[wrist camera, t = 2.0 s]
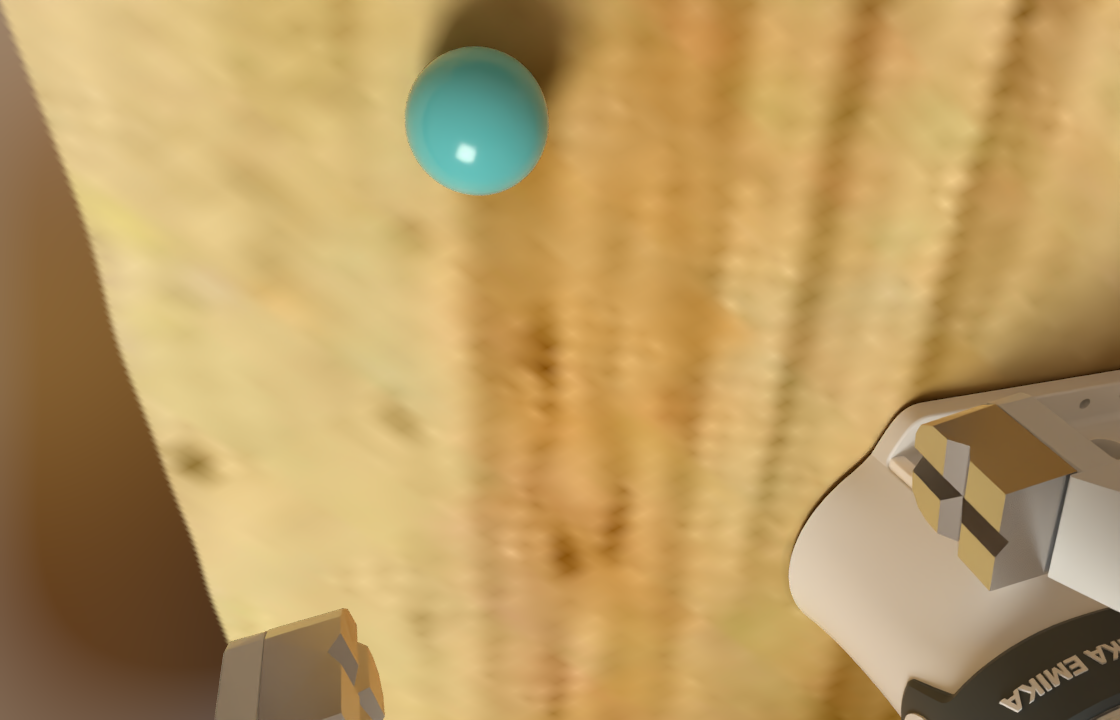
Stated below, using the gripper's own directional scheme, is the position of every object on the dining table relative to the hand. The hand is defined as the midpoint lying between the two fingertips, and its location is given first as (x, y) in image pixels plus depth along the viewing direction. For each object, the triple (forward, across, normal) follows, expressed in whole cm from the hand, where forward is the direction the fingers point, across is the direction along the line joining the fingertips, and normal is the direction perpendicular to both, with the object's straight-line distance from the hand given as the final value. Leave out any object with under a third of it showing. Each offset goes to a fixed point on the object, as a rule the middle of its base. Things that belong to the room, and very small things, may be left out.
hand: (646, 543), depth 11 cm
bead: (+18, -1, -1) cm, 18 cm away
